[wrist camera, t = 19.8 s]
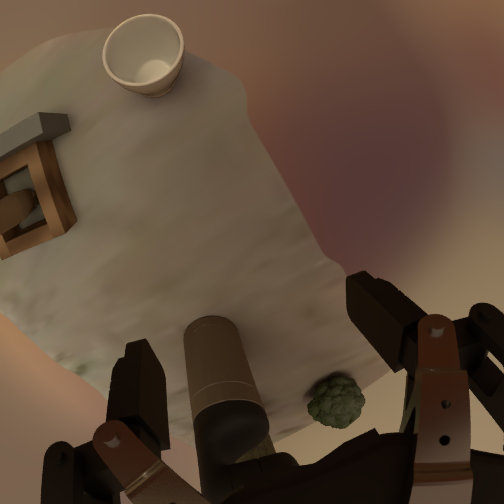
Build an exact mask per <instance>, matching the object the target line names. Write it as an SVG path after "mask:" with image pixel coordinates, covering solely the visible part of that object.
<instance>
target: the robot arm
mask: <svg viewBox="0 0 504 504" xmlns="http://www.w3.org/2000/svg"><path fill="white" fill-rule="evenodd" d="M346 307H347V312H348V315H349V318H350V319H351V321H352V322H353V323H354V325H355V326H356V327H357V328H358V329H359V331H360V332H361V333H362V334H363V335H364V337H365V338H366V339H367V340H368V341H369V343H370V344H371V345H372V346H373V347H374V349H375V350H376V351H377V352H378V353H379V355H380V356H381V357H382V358H383V359H384V361H385V362H386V363H387V364H388V365H389V367H390V368H391V369H392V370H393V371H394V373H396V372H398V371H400V370H401V369H403V368H405V370H406V371H407V376H406V389H405V399H404V409H403V417H402V422H401V426H400V430H399V432H396V433H385V434H380V435H379V434H378V432H377V431H376V429H375V428H374V429H372V430H370V431H368V432H366V433H364V434H361V435H359V436H357V437H355V438H353V439H351V440H349V441H347V442H344V443H343V444H342V445H340V446H339V447H338V448H336V449H335V450H333V451H332V452H331V453H329V454H328V455H326V456H325V457H324V458H322V459H320V460H319V461H317V462H316V463H313V464H308V465H301V466H299V464H298V463H297V461H296V460H295V458H294V457H292V456H291V455H290V454H288V453H285V452H280V453H275V454H271V455H267V456H263V457H259V458H258V459H257V458H255V459H251V460H247V461H243V462H239V463H235V462H236V461H237V460H238V459H239V458H240V457H241V456H243V455H244V454H245V453H247V452H248V451H250V450H251V449H253V448H255V447H256V446H257V445H259V444H260V443H261V442H262V441H263V440H264V439H265V438H266V436H267V435H268V432H269V421H268V418H267V415H266V413H265V410H264V407H263V404H262V401H261V399H260V396H259V393H258V390H257V387H256V385H255V382H254V379H253V376H252V373H251V370H250V367H249V364H248V361H247V358H246V355H245V352H244V349H243V346H242V343H241V340H240V337H239V334H238V331H237V329H236V327H235V325H234V324H233V323H232V322H231V321H229V320H227V319H225V318H222V317H216V316H209V317H204V318H201V319H198V320H196V321H195V322H193V323H192V324H191V325H190V326H188V328H187V329H186V331H185V334H184V350H185V361H186V371H187V380H188V389H189V397H190V405H191V412H192V419H193V426H194V433H195V444H196V450H197V457H198V466H199V475H200V485H201V493H202V494H201V493H199V492H198V491H197V490H195V489H194V488H193V487H192V486H190V485H189V484H188V483H187V482H186V481H185V480H183V479H182V478H181V477H180V476H179V475H178V474H176V473H175V472H174V471H173V470H172V469H171V468H170V467H169V466H168V465H166V464H165V463H164V462H163V461H162V460H161V451H162V450H168V449H170V440H169V427H168V412H167V394H166V378H165V373H164V370H163V368H162V366H161V364H160V362H159V360H158V359H157V357H156V355H155V353H154V352H153V350H152V348H151V346H150V344H149V343H148V341H147V340H146V339H141V340H137V341H133V342H129V343H127V344H126V349H125V356H124V357H123V358H119V359H118V361H117V362H116V364H115V366H114V367H113V369H112V376H111V383H110V390H109V398H108V406H107V415H106V422H105V423H103V424H102V425H100V426H99V427H98V428H97V429H96V431H95V433H94V435H93V440H92V441H90V442H87V443H85V444H82V445H80V446H78V447H75V448H73V447H72V446H71V445H70V444H68V443H67V442H64V441H59V442H55V443H54V444H52V445H51V446H50V447H49V448H48V449H47V451H46V453H45V456H44V463H43V473H42V486H41V504H121V503H120V492H121V491H124V490H126V491H125V494H126V496H127V497H128V498H129V499H130V501H131V502H132V503H133V504H504V455H500V454H494V453H488V452H483V451H478V450H474V449H470V443H471V422H470V398H469V389H470V390H471V391H472V392H473V394H474V395H475V396H476V397H477V399H478V400H479V401H480V402H481V404H483V406H484V407H485V409H486V410H487V411H488V412H489V414H490V415H491V416H492V418H493V419H494V420H495V422H496V423H497V424H498V425H499V427H500V428H501V429H502V431H503V432H504V374H503V373H502V371H501V370H500V369H499V368H498V367H497V366H496V365H495V364H494V363H493V362H492V361H491V360H490V359H489V358H488V357H487V355H488V352H489V351H490V352H491V353H492V354H493V356H495V358H496V359H497V360H498V361H499V362H500V363H501V364H502V365H503V367H504V314H503V313H502V312H501V311H500V310H498V309H497V308H496V307H495V306H493V305H491V304H488V303H477V304H475V305H473V306H472V307H471V309H470V312H469V316H468V317H465V318H462V319H458V320H454V321H451V320H450V319H449V318H447V317H446V316H443V315H440V314H430V315H428V314H427V313H426V312H424V311H423V310H422V309H421V308H420V307H419V306H417V305H416V304H415V303H414V302H413V301H411V300H410V299H409V298H408V297H407V296H405V295H404V294H403V293H402V292H401V291H400V290H399V291H398V289H397V288H396V287H395V286H394V285H393V284H391V283H390V282H388V281H385V280H383V279H380V278H377V279H374V278H373V277H372V276H371V275H370V274H369V273H367V272H366V271H361V272H358V273H355V274H352V275H350V276H347V278H346ZM503 451H504V445H503Z"/></svg>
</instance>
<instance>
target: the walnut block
mask: <svg viewBox="0 0 504 504" xmlns="http://www.w3.org/2000/svg"><path fill="white" fill-rule="evenodd" d="M27 167H28V168H29V171H30V175H31V178H32V181H33V184H34V187H35V191H36V194H37V197H38V200H39V202H40V205H41V208H42V211H43V214H44V216H45V219H44V220H42V221H40V222H38V223H35V224H33V225H31V226H29V227H27V228H25V229H22V230H20V228H19V226H18V225H16V226H14V227H13V228H11V229H9V230H8V231H6V232H4V233H3V234H1V235H0V257H1V259H2V260H4V259H6V258H8V257H10V256H13V255H15V254H17V253H19V252H22V251H24V250H26V249H29V248H31V247H33V246H36V245H38V244H41V243H43V242H45V241H48V240H50V239H53V238H55V237H58V236H60V235H63V234H65V233H66V232H67V231H68V230H69V229H70V228H71V227H72V226H73V225H74V224H75V223H76V222H77V220H76V217H75V214H74V211H73V209H72V206H71V203H70V200H69V197H68V194H67V191H66V188H65V185H64V182H63V179H62V176H61V172H60V169H59V166H58V162H57V159H56V155H55V151H54V148H53V144H52V140H47V141H40V142H35V143H33V144H31V145H30V146H28V147H26V148H24V149H22V150H21V151H19V152H17V153H15V154H14V155H12V156H10V157H8V158H7V159H5V160H3V161H2V162H0V200H1V199H3V198H4V197H6V196H8V195H7V192H6V188H5V185H4V182H3V180H5V179H7V178H9V177H10V176H12V175H14V174H16V173H18V172H19V171H21V170H23V169H25V168H27Z"/></svg>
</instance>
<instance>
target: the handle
mask: <svg viewBox="0 0 504 504" xmlns="http://www.w3.org/2000/svg"><path fill="white" fill-rule="evenodd" d="M37 204H38V202H37V200H36V193H35V192H34V191H30V190H29V189H24V190H22V191H17V192H14V193H12V194H10V195H8V196H6V197H4V198H3V199H1V200H0V235H1V234H3V233H4V232H6V231H8V230H9V229H11V228H13V227H14V226H16V225H18V224H19V223H20V222H22V221H23V220H24V219H25V218H26V217H27V216H28V215H29V214H30V213H31V212H32V210H33V208H35V207H36V206H37Z"/></svg>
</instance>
